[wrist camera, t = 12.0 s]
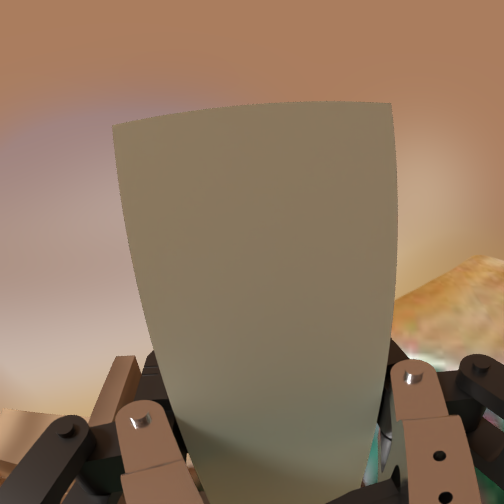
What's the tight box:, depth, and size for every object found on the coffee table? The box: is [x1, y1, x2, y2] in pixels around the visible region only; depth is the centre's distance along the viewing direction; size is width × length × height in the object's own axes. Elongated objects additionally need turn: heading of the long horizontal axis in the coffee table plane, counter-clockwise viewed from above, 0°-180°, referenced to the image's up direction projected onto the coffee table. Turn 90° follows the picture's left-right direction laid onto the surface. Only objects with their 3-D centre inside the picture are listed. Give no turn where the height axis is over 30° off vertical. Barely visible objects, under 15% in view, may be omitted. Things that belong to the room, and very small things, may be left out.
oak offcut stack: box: [0, 408, 90, 504], centre depth 15 cm, size 10×6×7 cm, turn 96°
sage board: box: [112, 101, 398, 504], centre depth 9 cm, size 5×3×16 cm, turn 96°
